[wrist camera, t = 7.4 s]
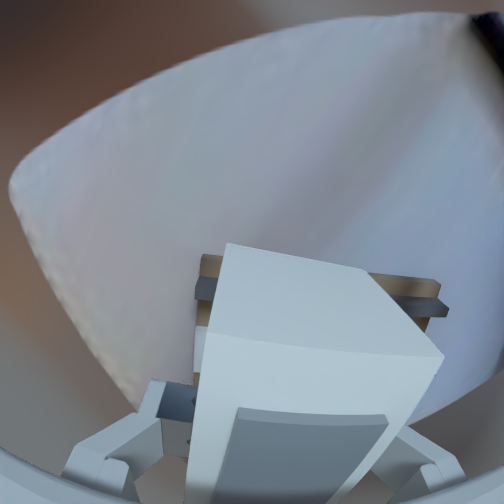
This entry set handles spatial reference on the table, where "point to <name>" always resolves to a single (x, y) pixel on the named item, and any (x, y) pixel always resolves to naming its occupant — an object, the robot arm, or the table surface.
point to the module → (300, 381)
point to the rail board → (397, 287)
